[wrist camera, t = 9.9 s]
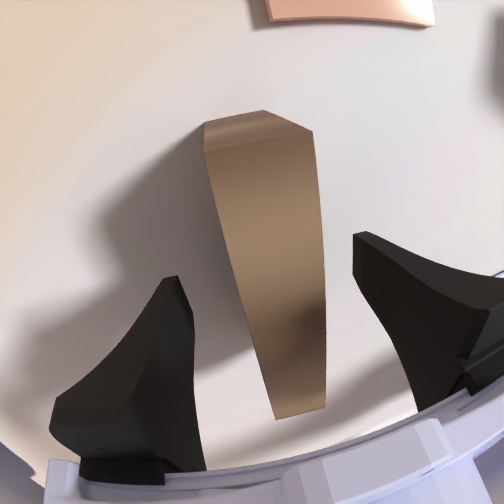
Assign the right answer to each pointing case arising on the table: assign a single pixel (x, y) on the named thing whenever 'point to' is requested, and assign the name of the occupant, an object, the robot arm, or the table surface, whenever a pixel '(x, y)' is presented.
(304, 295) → the tapered tan wedge
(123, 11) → the table surface
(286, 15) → the tile
